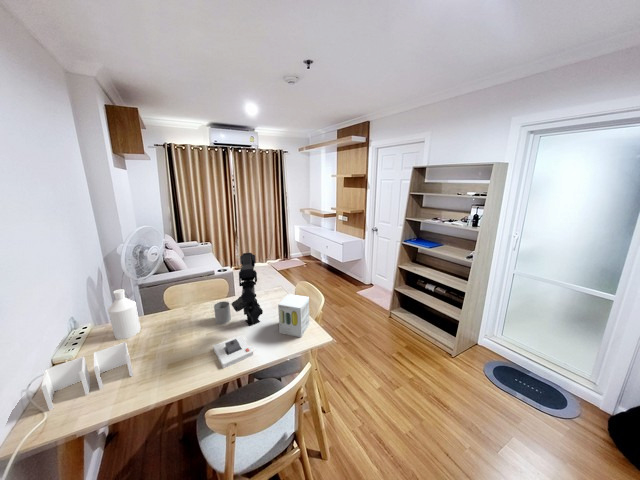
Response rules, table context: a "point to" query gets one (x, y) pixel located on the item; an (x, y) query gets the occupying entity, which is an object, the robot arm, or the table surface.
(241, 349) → the socket plate
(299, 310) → the supplement box
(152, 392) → the table surface
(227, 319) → the cup
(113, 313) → the bottle
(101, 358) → the white u-channel brackets
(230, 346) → the plug
